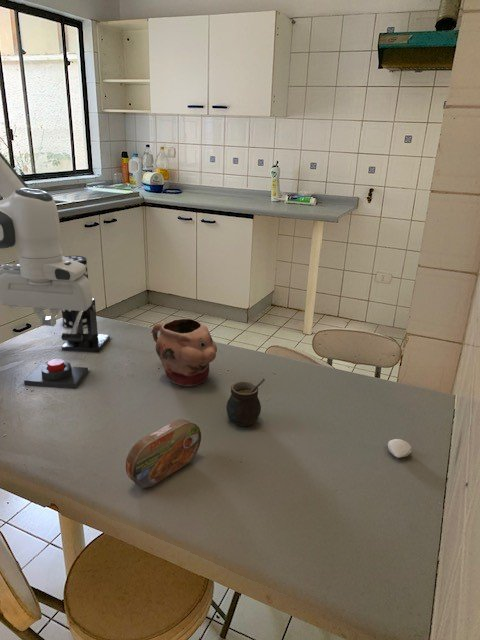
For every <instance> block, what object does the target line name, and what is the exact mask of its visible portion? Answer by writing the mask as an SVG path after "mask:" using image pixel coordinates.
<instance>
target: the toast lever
mask: <svg viewBox="0 0 480 640" xmlns="http://www.w3.org/2000/svg"><path fill="white" fill-rule="evenodd" d="M83 314H86V311H78V315H77V318H76V320H75V323H74V326H73V328H71V331H70V333H65V332H63V333H62V334H61V336H60V339H61V340H62V341H65V342H67V341H82V340H83V336H82V334H77V331H78V328H79V326H80V323H81V320H82V317H83Z"/></svg>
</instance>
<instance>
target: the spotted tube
mask: <svg viewBox="0 0 480 640" xmlns="http://www.w3.org/2000/svg"><path fill="white" fill-rule="evenodd" d="M63 256H64V255H63ZM64 257H67V258H69V259H71V260H74V261H76V262H79V263H82V264H84V265H85V267H86V272H85V273H84V274H83V275H84V276H86V277H87V278H88V279H89V273H88V259H87V257H86V256H82V255H66V256H64ZM61 316H62V317H61V318H62V326H64V328H67V329H73V324H72V315H71V310H61ZM82 322H83V329H84V328H86V327H87V317H86V314H83V317H82Z"/></svg>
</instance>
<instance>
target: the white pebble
mask: <svg viewBox="0 0 480 640" xmlns="http://www.w3.org/2000/svg"><path fill="white" fill-rule="evenodd" d="M387 448H388V451H389V452H390V453H391V454H392V455H393V456H394V457H396V458H398V459H400V458H405V457H408V456H409V455H410V454H411V453H412V446H411V445H410V444H409V443H408V442H407V441H406V440H403V439H400V438H394V439H391V440H389V441H388V443H387Z"/></svg>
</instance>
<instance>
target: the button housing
mask: <svg viewBox="0 0 480 640" xmlns="http://www.w3.org/2000/svg"><path fill="white" fill-rule="evenodd" d="M63 361H64V369H62V370H60V371H55V372H54V371H49V370H48V365H47V363H45V364H39V365H38V366H37V367H36V368H34V370H33V371H32V372H31V373H30V374H29V375H28V376H27V377H26V378H25V379H24V380H23V383H24V386H33V387H50V388H63V389H77V387H78V386H79V385H80V384H81V382H82V381H83V379H84V378H85V376H87V374H88V373H89V367H85V366H72V365H71V363H70V362H69V361H66V360H63Z"/></svg>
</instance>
